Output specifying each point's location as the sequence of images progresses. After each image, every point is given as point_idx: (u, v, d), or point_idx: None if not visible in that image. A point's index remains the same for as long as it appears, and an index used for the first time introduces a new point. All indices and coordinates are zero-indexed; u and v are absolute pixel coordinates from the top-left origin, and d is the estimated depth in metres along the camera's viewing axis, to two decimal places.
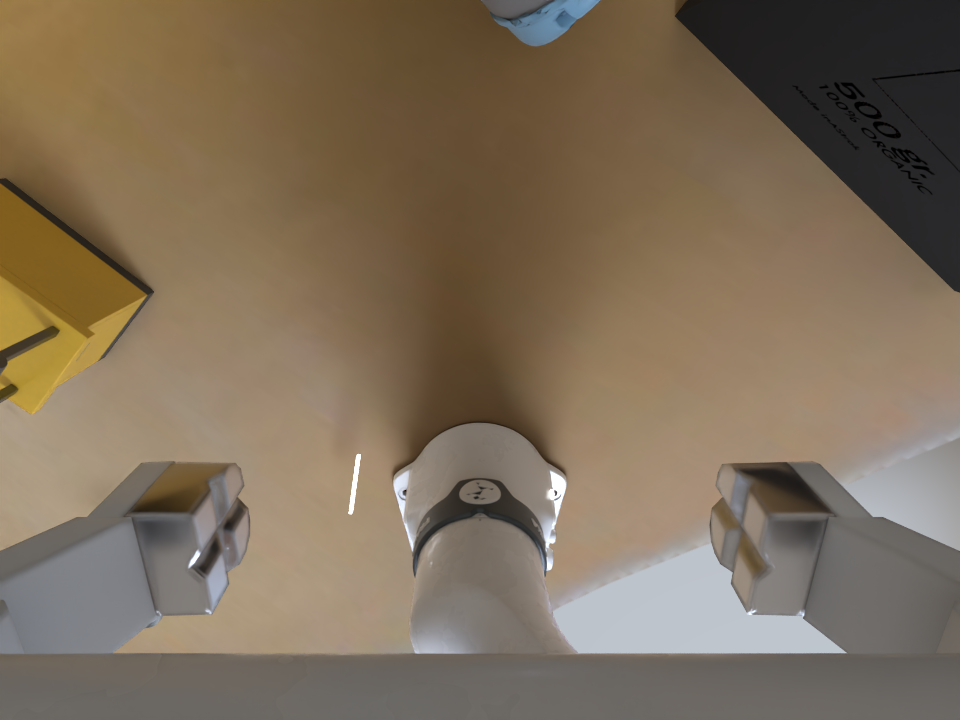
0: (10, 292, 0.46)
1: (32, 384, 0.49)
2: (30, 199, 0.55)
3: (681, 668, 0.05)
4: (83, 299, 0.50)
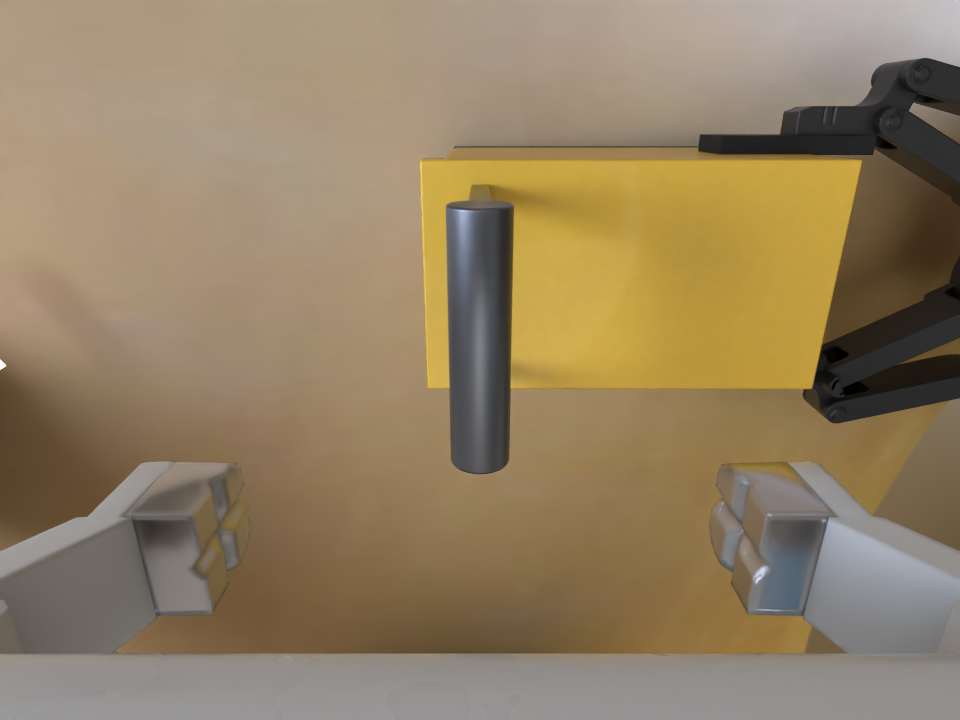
0: (575, 374, 0.25)
1: None
2: None
3: (681, 668, 0.05)
4: None
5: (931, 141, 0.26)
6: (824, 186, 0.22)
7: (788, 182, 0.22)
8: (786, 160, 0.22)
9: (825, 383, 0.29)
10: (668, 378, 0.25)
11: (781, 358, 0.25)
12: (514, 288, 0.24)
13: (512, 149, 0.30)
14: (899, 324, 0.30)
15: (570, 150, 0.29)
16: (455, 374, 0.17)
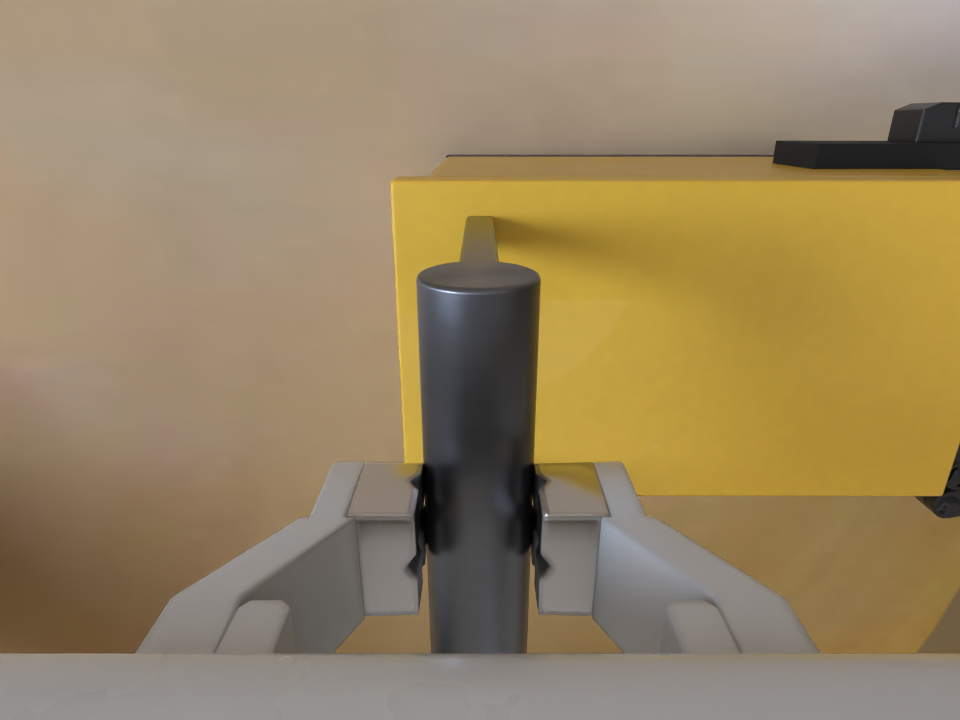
0: None
1: None
2: None
3: (681, 668, 0.05)
4: None
5: None
6: None
7: (933, 213, 0.15)
8: (933, 181, 0.15)
9: None
10: (743, 482, 0.18)
11: (902, 456, 0.18)
12: None
13: (522, 159, 0.23)
14: None
15: (599, 161, 0.22)
16: (436, 558, 0.10)
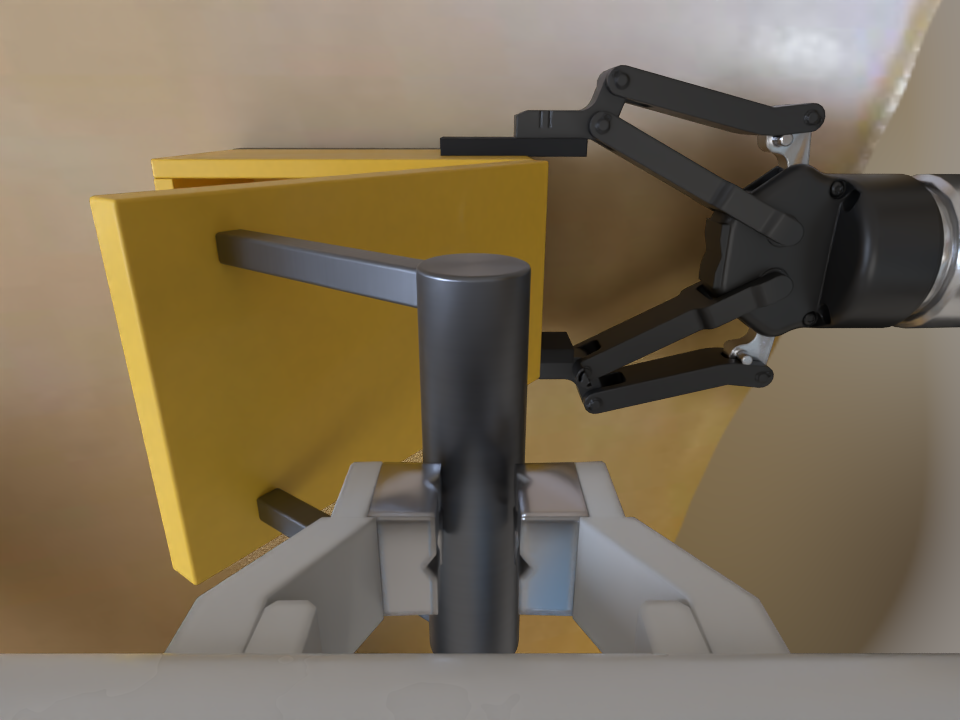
0: (377, 458, 0.19)
1: (200, 316, 0.13)
2: None
3: (681, 668, 0.05)
4: None
5: (641, 143, 0.27)
6: (532, 188, 0.23)
7: (512, 186, 0.22)
8: (508, 164, 0.22)
9: (575, 375, 0.31)
10: None
11: None
12: (296, 376, 0.16)
13: None
14: (650, 319, 0.31)
15: None
16: (476, 543, 0.10)
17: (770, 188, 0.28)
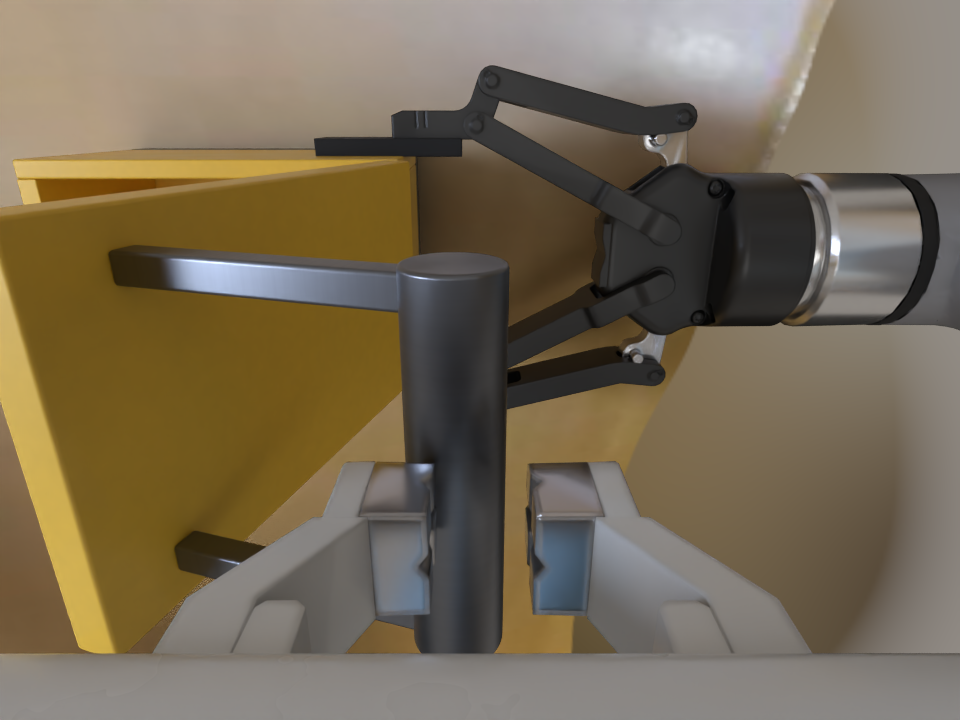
0: (286, 480, 0.18)
1: (98, 348, 0.11)
2: None
3: (681, 668, 0.05)
4: None
5: (516, 143, 0.27)
6: (398, 187, 0.23)
7: (381, 187, 0.22)
8: (376, 165, 0.21)
9: None
10: (350, 426, 0.22)
11: None
12: (203, 404, 0.14)
13: (168, 151, 0.31)
14: (542, 318, 0.31)
15: (214, 152, 0.30)
16: (473, 535, 0.11)
17: (649, 187, 0.28)
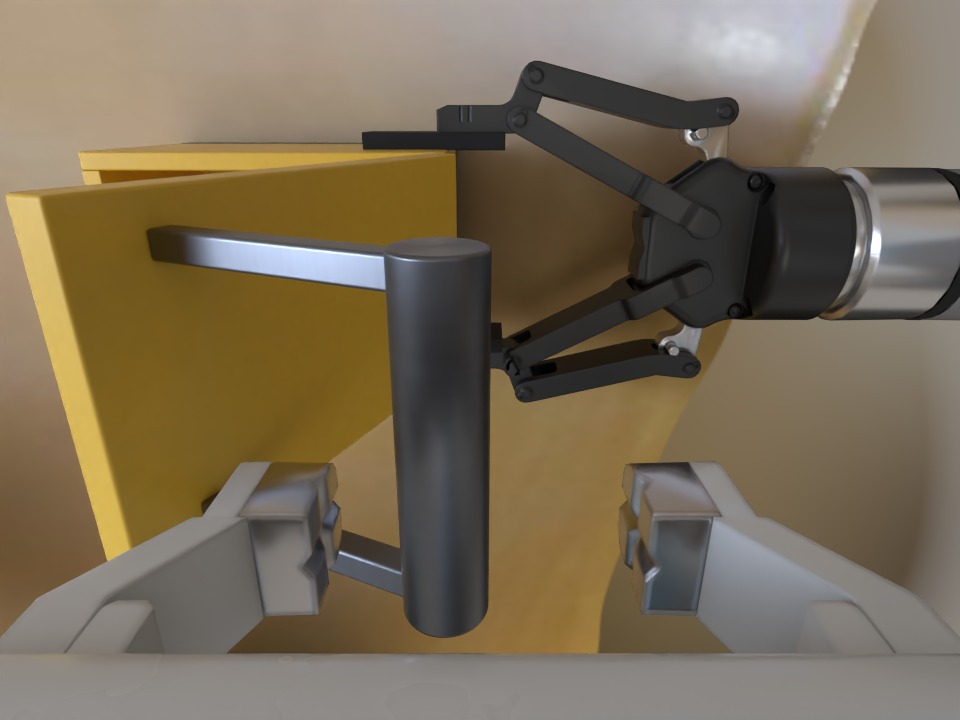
0: (315, 453, 0.19)
1: (135, 316, 0.13)
2: None
3: (681, 668, 0.05)
4: None
5: (559, 137, 0.28)
6: (442, 180, 0.24)
7: (424, 179, 0.22)
8: (419, 157, 0.22)
9: (503, 364, 0.31)
10: (384, 408, 0.22)
11: None
12: (233, 374, 0.16)
13: None
14: (579, 310, 0.32)
15: None
16: (452, 509, 0.11)
17: (689, 181, 0.28)
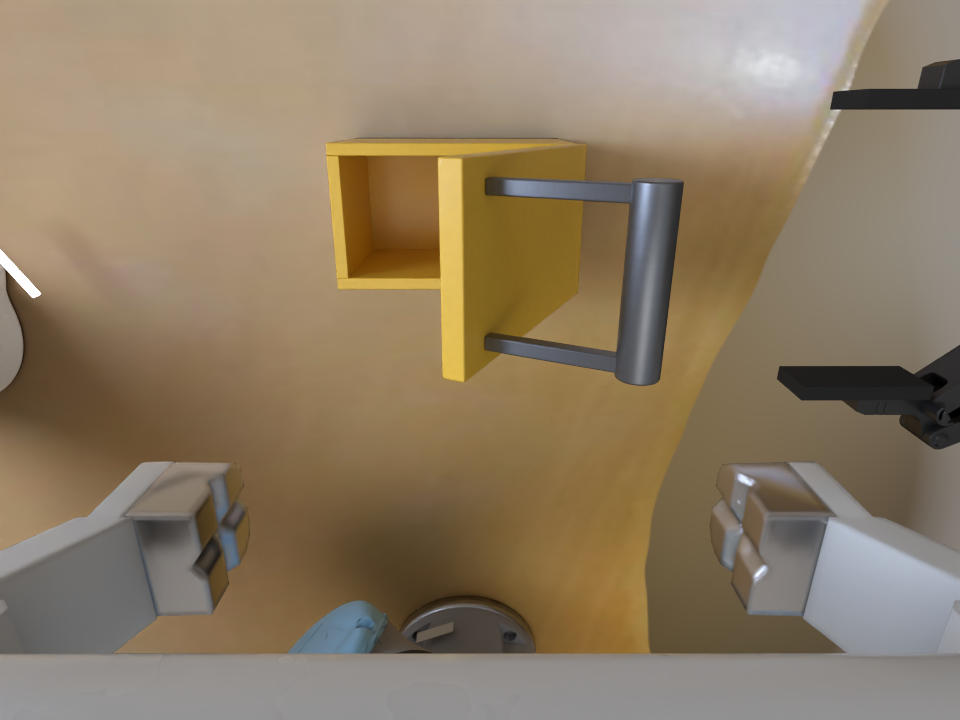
0: (520, 327, 0.31)
1: (477, 223, 0.25)
2: None
3: (681, 668, 0.05)
4: None
5: None
6: (580, 161, 0.35)
7: (573, 160, 0.34)
8: (571, 145, 0.34)
9: (931, 414, 0.31)
10: (546, 310, 0.34)
11: (571, 277, 0.38)
12: (500, 265, 0.27)
13: (390, 139, 0.44)
14: None
15: None
16: (656, 310, 0.23)
17: None
